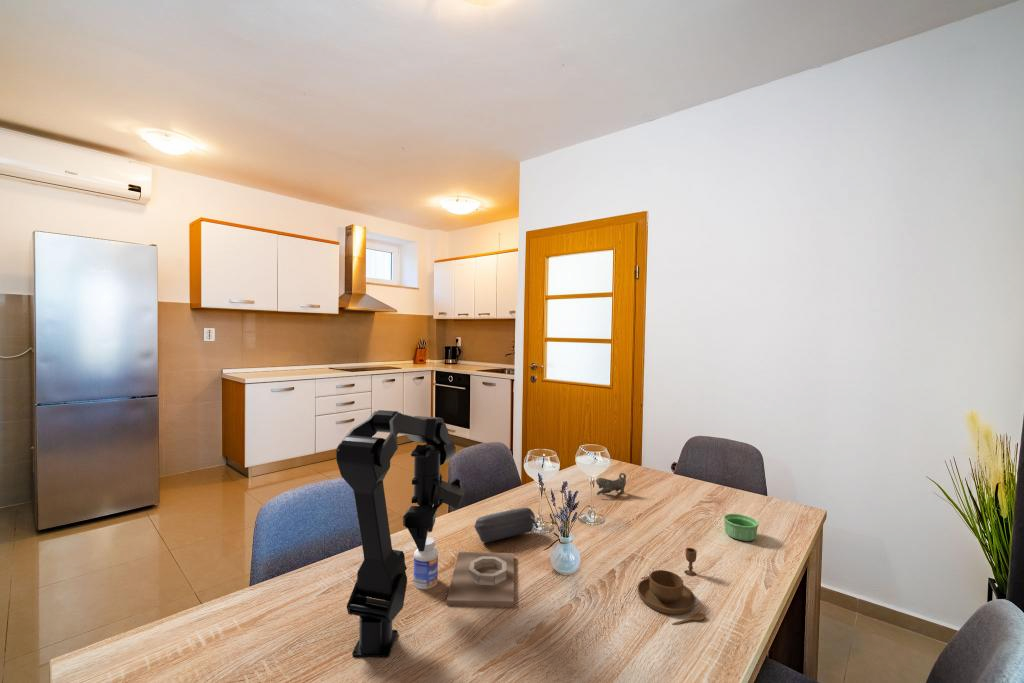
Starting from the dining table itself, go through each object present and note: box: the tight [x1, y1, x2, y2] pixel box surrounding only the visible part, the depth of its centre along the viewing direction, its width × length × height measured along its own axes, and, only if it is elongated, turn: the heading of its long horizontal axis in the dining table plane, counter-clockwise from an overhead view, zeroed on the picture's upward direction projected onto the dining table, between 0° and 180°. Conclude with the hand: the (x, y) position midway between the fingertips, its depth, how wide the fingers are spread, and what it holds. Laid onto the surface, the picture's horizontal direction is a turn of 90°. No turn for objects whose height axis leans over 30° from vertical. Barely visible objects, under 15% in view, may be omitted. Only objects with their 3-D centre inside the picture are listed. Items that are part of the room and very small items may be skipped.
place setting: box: [637, 547, 706, 626], centre depth 97 cm, size 18×20×6 cm
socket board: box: [446, 551, 515, 608], centre depth 102 cm, size 20×14×3 cm
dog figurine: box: [595, 472, 627, 498], centre depth 157 cm, size 12×6×7 cm, turn 103°
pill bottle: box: [413, 536, 439, 590], centre depth 100 cm, size 5×5×10 cm
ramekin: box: [723, 513, 760, 542], centre depth 127 cm, size 9×9×4 cm
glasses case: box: [474, 507, 539, 543], centre depth 121 cm, size 18×10×8 cm, turn 119°
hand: (425, 541), depth 99 cm, fingers open, 9 cm apart
